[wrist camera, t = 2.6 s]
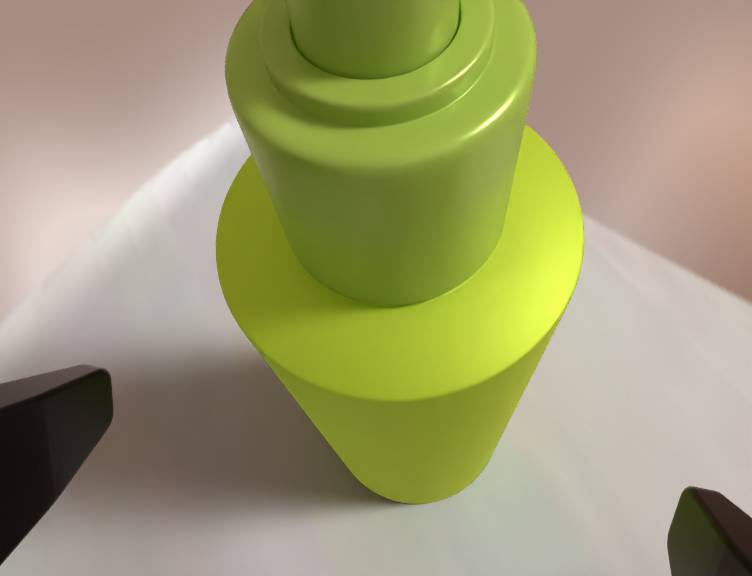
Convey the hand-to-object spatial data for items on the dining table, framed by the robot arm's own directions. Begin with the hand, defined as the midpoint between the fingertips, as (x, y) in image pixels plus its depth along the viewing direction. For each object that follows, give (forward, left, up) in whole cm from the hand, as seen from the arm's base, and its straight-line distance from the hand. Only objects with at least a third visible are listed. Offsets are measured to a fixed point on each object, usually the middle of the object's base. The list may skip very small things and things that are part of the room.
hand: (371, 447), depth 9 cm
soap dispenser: (+4, +1, -12) cm, 13 cm away
